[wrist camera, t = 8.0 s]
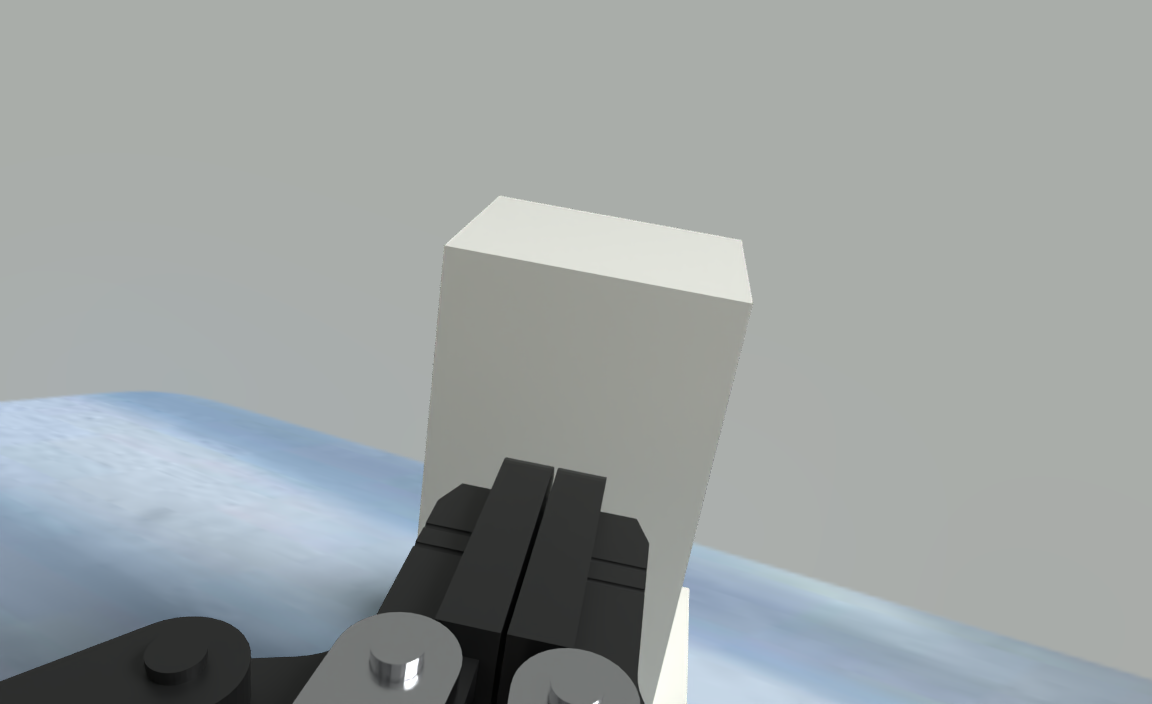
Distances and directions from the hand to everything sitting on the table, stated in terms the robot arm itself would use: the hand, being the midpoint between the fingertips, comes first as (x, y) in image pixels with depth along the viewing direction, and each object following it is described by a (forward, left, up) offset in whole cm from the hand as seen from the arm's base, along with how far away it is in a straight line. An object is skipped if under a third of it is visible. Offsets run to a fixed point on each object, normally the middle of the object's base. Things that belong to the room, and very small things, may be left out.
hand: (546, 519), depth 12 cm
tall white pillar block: (0, +4, -10) cm, 11 cm away
